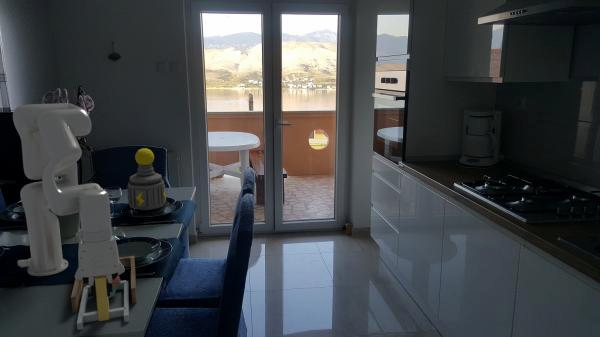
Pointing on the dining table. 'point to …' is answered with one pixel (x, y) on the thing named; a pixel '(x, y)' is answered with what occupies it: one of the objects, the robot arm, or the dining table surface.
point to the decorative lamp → (146, 184)
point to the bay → (79, 283)
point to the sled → (103, 303)
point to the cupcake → (114, 285)
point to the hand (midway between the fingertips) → (102, 294)
